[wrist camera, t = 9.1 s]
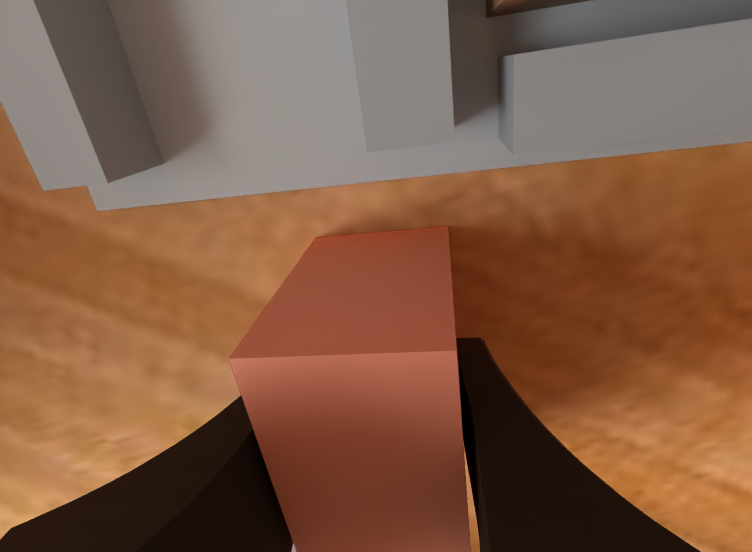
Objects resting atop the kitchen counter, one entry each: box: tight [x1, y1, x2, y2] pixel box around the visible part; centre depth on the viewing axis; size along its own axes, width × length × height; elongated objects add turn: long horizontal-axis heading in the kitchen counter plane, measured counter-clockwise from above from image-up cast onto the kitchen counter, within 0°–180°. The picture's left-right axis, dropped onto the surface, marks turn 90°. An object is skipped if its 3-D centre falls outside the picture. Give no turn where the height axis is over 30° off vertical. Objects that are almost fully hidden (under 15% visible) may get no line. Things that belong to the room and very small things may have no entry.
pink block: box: [229, 226, 471, 552], centre depth 10 cm, size 7×4×6 cm, turn 8°
